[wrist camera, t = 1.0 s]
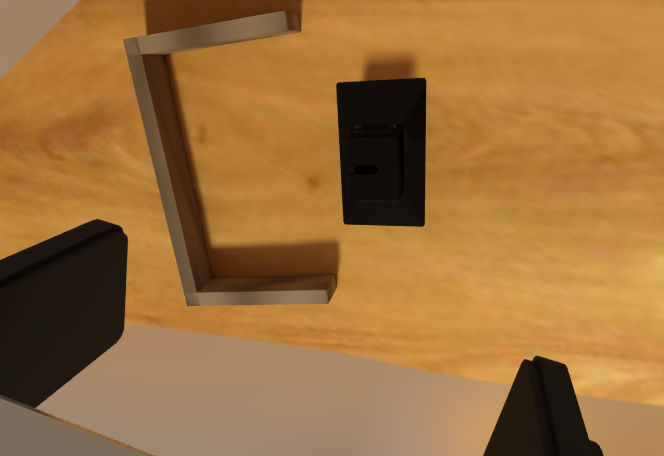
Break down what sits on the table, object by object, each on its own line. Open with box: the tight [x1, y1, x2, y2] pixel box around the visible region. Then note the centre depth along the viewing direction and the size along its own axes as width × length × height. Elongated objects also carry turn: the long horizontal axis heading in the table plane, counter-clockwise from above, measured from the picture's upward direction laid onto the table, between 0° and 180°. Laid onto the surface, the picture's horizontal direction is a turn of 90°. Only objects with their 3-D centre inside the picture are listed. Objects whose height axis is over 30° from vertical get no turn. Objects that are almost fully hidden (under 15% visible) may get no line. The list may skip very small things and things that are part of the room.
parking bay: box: [123, 11, 337, 306], centre depth 32 cm, size 10×18×2 cm, turn 8°
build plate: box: [336, 78, 426, 227], centre depth 30 cm, size 12×7×5 cm, turn 3°
